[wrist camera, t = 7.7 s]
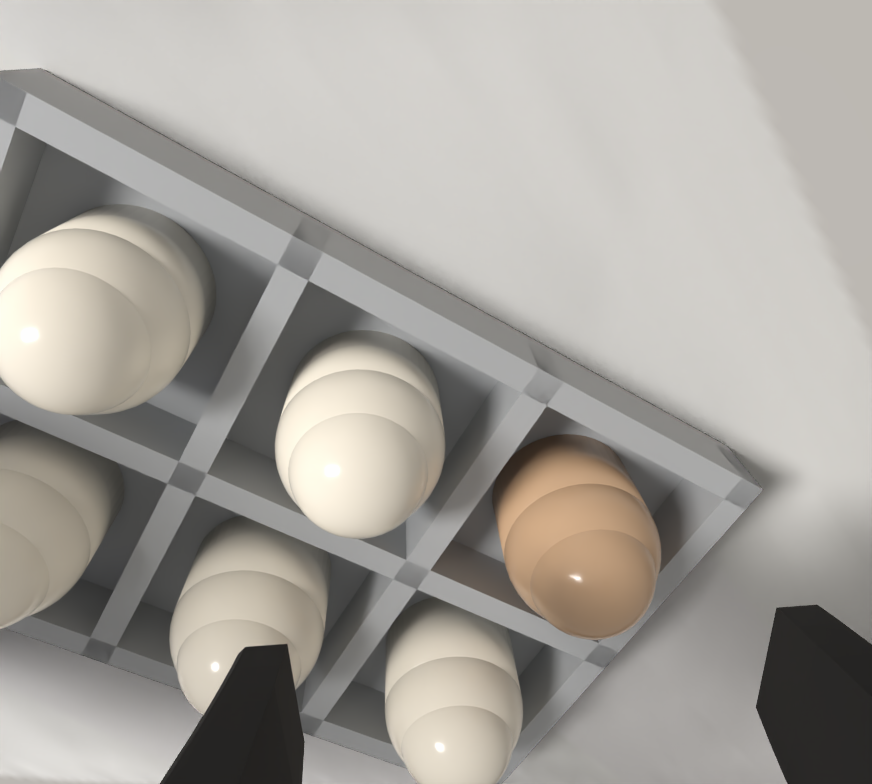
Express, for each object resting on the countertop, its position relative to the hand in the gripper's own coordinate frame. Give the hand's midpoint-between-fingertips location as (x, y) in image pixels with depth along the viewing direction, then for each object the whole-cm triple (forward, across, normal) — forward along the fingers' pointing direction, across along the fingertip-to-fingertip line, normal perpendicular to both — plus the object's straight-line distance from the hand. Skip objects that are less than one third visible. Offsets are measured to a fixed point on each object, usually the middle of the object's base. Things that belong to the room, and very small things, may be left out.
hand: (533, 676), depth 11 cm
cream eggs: (+9, +4, +2) cm, 11 cm away
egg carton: (+9, +4, +2) cm, 11 cm away
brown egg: (+9, -2, +3) cm, 10 cm away
